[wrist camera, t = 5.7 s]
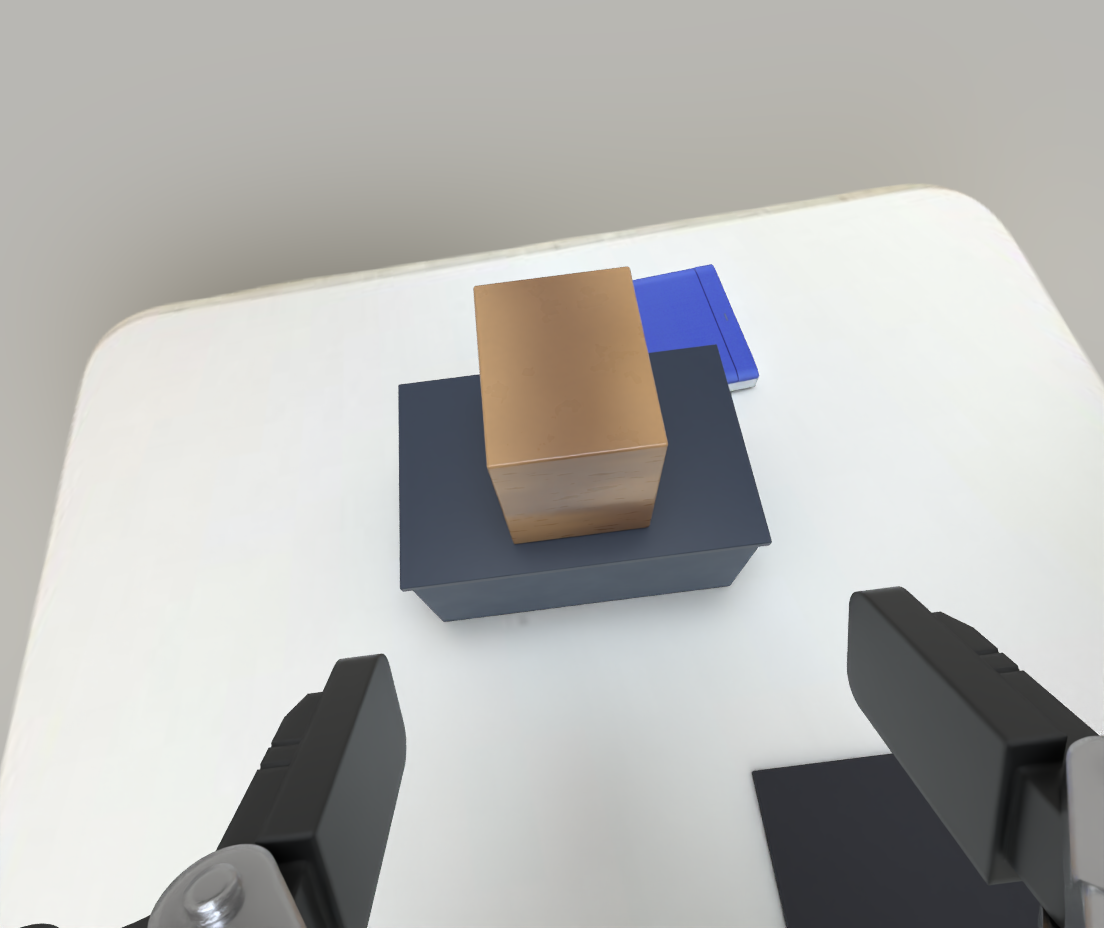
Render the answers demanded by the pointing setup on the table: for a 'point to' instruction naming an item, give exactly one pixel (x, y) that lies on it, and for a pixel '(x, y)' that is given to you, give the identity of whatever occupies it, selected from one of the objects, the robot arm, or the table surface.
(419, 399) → the storage box
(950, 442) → the table surface
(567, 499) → the small box
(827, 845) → the mat
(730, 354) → the blue notebook
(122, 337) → the table surface
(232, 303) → the table surface
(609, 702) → the table surface
